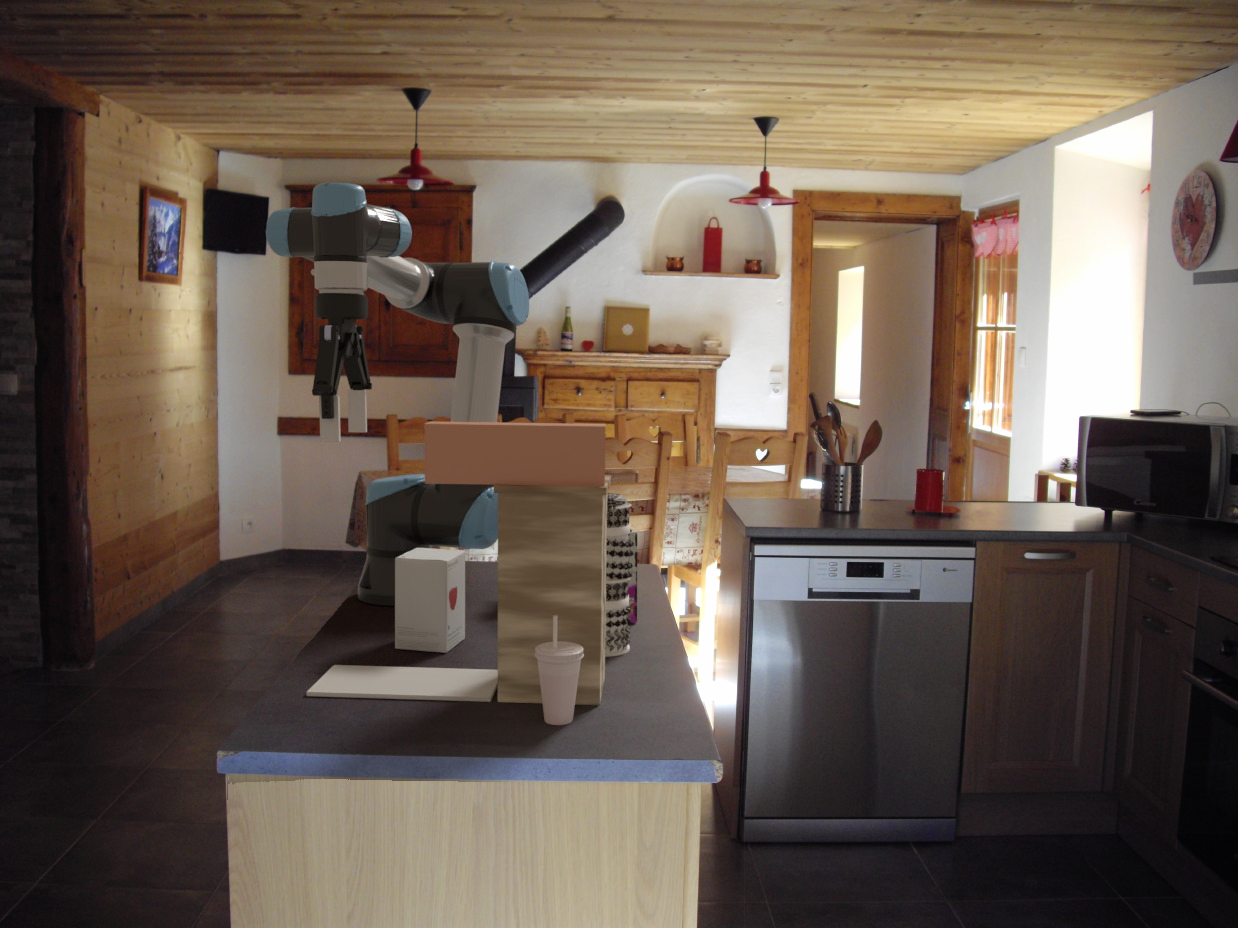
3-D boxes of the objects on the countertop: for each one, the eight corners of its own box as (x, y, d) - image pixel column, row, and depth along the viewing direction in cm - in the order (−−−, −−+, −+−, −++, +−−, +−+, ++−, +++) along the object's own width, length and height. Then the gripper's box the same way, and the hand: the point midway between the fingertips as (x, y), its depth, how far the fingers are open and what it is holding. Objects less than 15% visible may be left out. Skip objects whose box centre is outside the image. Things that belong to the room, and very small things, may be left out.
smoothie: (534, 711, 140) (534, 609, 138) (582, 710, 140) (583, 608, 139) (534, 729, 133) (534, 622, 132) (584, 728, 134) (585, 622, 132)
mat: (333, 668, 156) (333, 664, 156) (503, 673, 155) (503, 669, 155) (306, 695, 144) (306, 691, 144) (490, 701, 143) (490, 697, 143)
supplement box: (447, 654, 164) (446, 560, 162) (393, 649, 166) (392, 557, 164) (467, 638, 173) (467, 549, 171) (416, 634, 175) (415, 546, 173)
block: (429, 479, 144) (429, 421, 143) (604, 482, 144) (605, 424, 143) (424, 483, 140) (424, 423, 139) (604, 486, 140) (605, 426, 139)
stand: (507, 672, 156) (508, 472, 152) (608, 675, 155) (611, 474, 151) (493, 702, 143) (493, 485, 139) (603, 706, 142) (606, 487, 138)
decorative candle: (570, 641, 172) (572, 491, 169) (625, 639, 174) (628, 490, 171) (580, 658, 163) (581, 500, 160) (638, 655, 165) (640, 499, 162)
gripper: (341, 294, 166) (344, 428, 168) (285, 289, 141) (290, 445, 144) (388, 295, 165) (391, 428, 168) (340, 289, 141) (344, 446, 143)
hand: (344, 436), depth 156 cm, fingers open, 13 cm apart
